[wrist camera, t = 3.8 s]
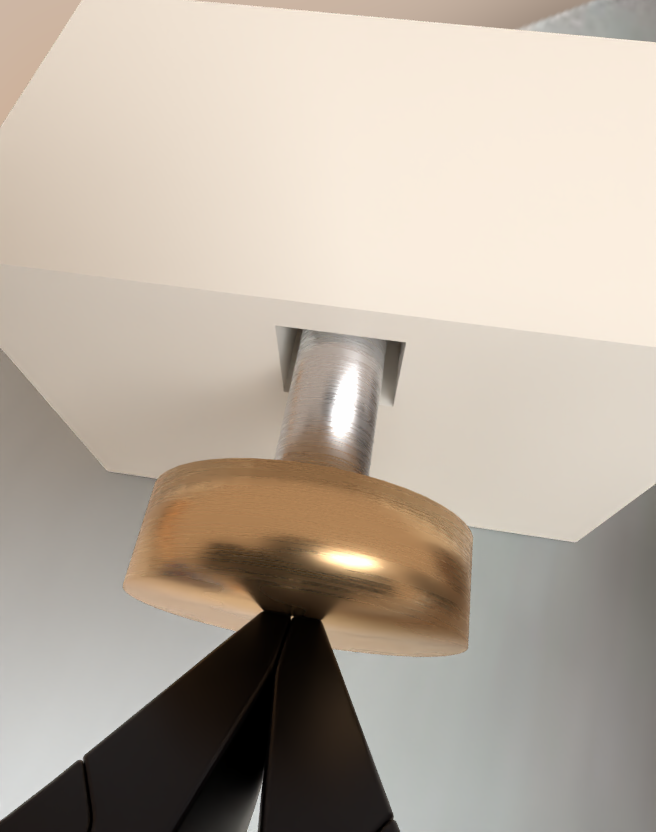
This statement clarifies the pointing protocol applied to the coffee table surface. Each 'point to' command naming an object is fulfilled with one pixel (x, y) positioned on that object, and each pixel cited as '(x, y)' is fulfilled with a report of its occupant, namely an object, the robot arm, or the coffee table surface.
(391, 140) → the press block
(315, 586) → the plunger
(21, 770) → the coffee table surface
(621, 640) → the coffee table surface
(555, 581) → the coffee table surface
